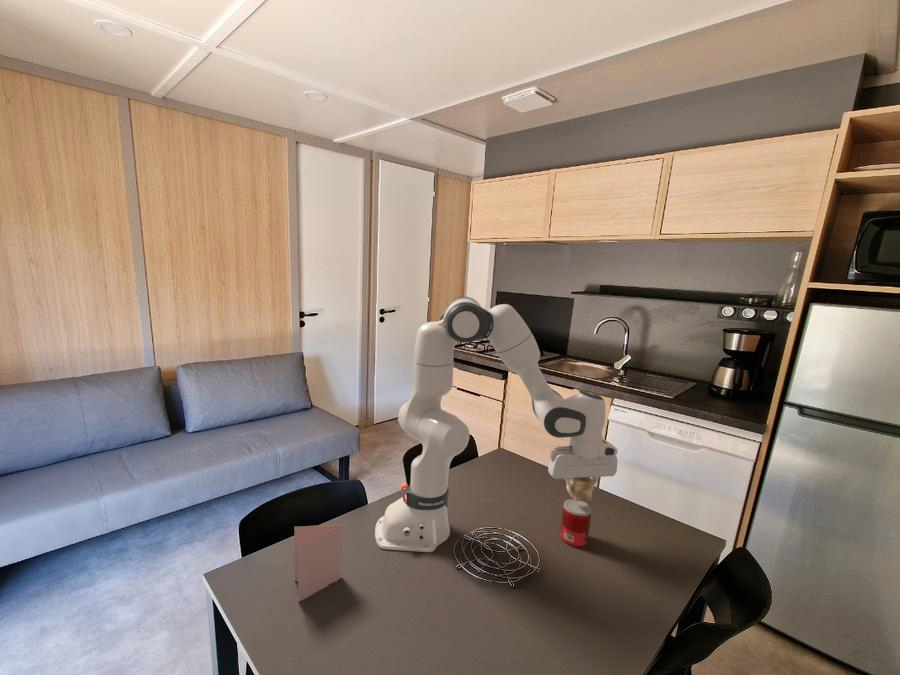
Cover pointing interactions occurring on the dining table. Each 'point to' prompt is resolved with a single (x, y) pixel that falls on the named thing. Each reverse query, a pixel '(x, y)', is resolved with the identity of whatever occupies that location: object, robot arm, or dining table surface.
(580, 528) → the canned food
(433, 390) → the robot arm
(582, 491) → the oak block
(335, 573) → the greeting card
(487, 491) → the dining table surface
